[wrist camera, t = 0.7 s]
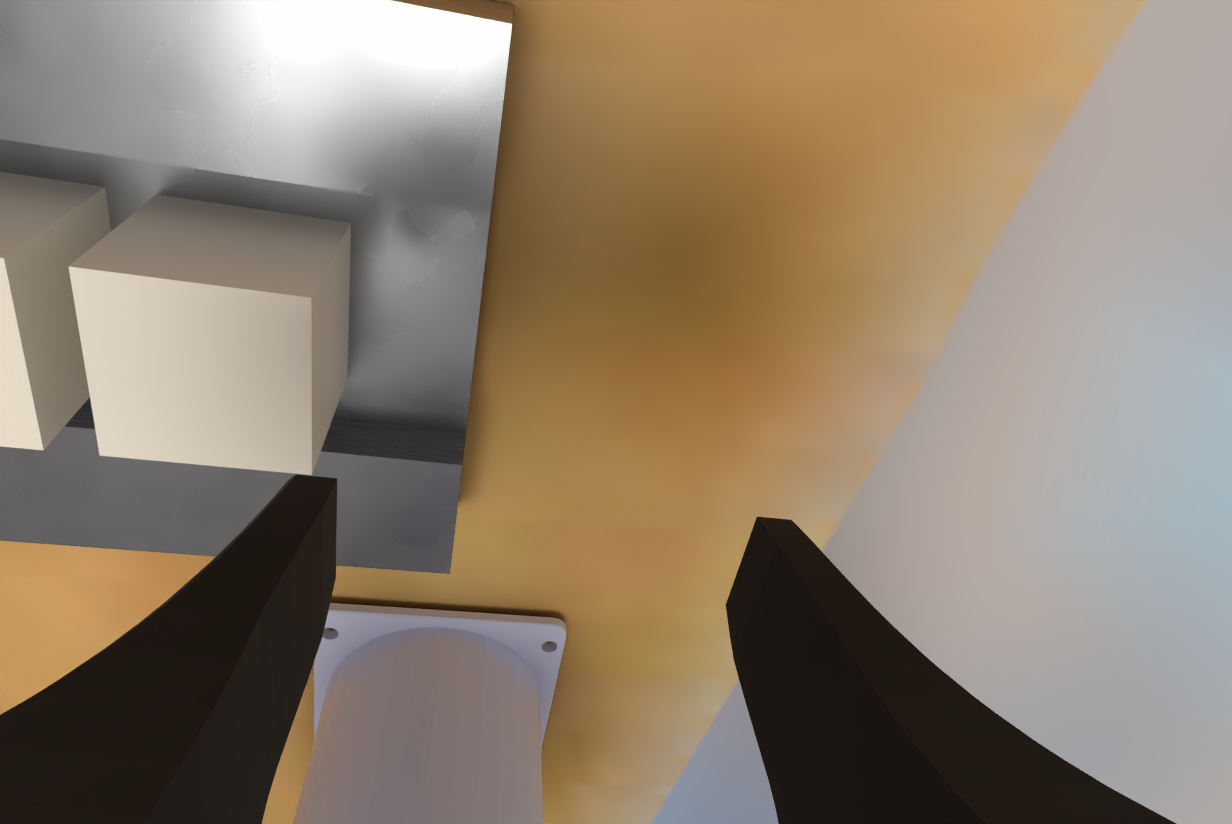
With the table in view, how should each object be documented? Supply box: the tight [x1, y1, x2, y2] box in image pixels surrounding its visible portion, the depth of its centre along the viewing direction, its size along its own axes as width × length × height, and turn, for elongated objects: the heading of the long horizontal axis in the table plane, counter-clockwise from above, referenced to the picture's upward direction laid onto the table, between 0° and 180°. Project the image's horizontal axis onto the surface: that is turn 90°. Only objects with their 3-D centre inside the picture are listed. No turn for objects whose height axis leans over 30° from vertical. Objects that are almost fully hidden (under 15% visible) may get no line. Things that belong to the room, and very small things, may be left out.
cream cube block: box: [68, 194, 351, 475], centre depth 17 cm, size 4×4×4 cm
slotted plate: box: [0, 0, 514, 574], centre depth 18 cm, size 14×18×3 cm
